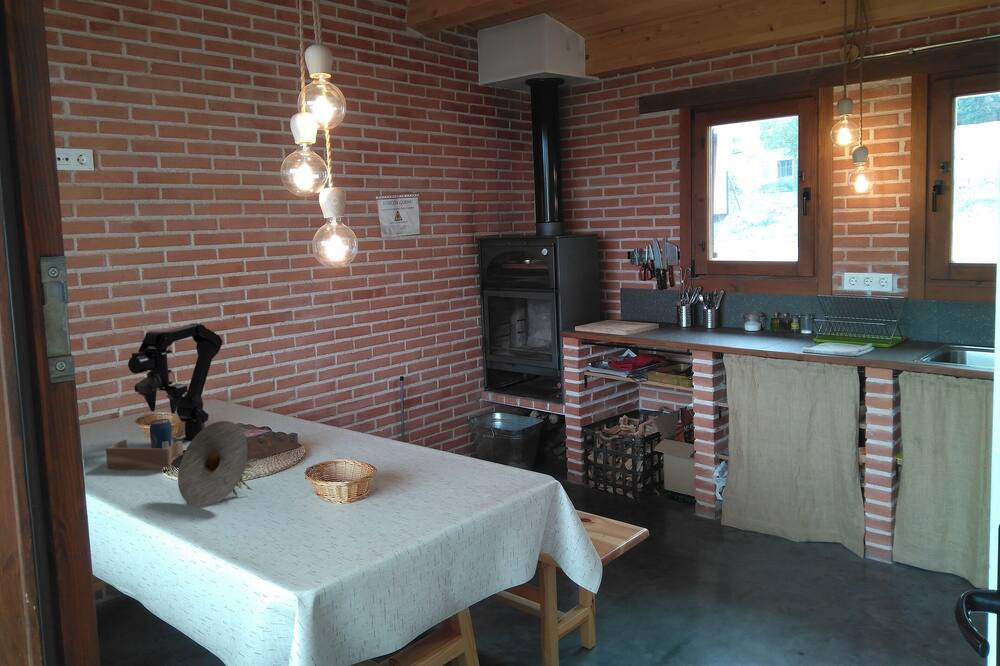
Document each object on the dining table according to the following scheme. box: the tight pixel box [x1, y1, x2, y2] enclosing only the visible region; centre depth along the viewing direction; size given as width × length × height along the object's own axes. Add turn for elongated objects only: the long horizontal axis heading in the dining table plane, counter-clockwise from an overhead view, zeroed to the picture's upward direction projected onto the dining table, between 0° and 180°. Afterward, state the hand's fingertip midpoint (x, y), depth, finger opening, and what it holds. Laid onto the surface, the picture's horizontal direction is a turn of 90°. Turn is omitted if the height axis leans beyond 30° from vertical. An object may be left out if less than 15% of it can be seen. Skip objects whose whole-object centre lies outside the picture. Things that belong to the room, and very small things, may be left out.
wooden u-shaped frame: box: [105, 439, 184, 472], centre depth 259 cm, size 9×21×7 cm, turn 82°
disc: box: [177, 420, 263, 509], centre depth 231 cm, size 25×18×25 cm
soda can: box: [149, 418, 175, 449], centre depth 269 cm, size 7×7×12 cm
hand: (163, 412), depth 276 cm, fingers open, 9 cm apart
